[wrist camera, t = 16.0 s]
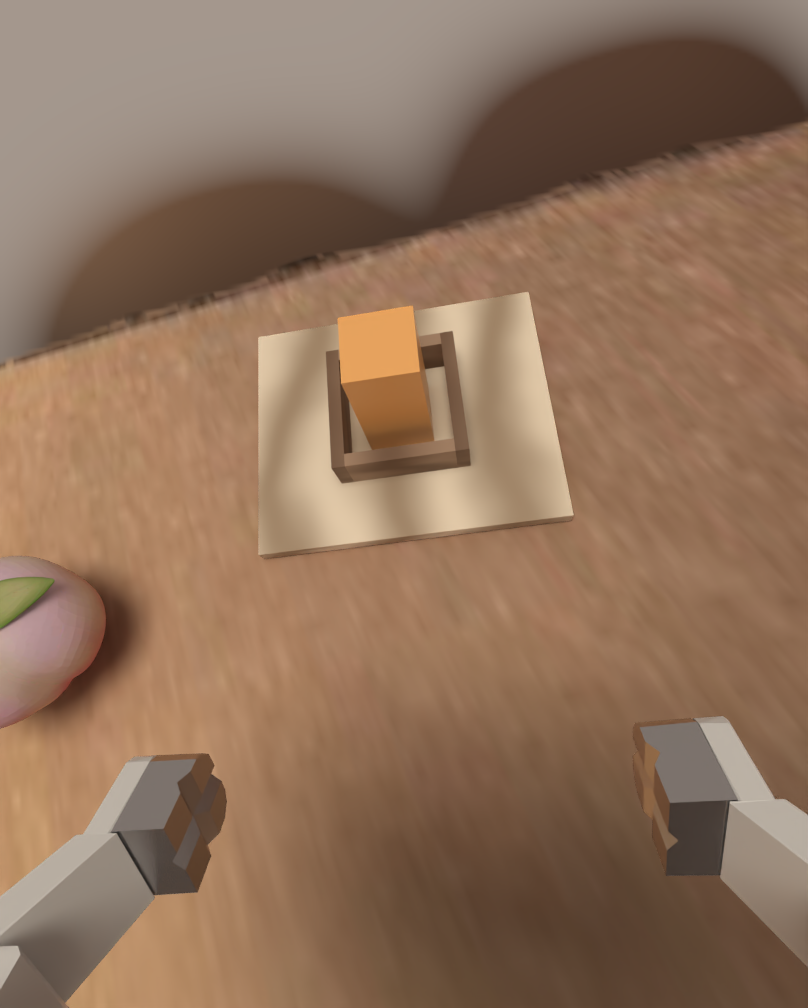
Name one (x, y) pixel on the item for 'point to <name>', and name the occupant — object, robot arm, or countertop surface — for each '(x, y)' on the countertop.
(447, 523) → the socket board
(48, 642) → the decorative fruit
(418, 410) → the orange cap block
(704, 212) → the countertop surface
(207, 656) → the countertop surface
